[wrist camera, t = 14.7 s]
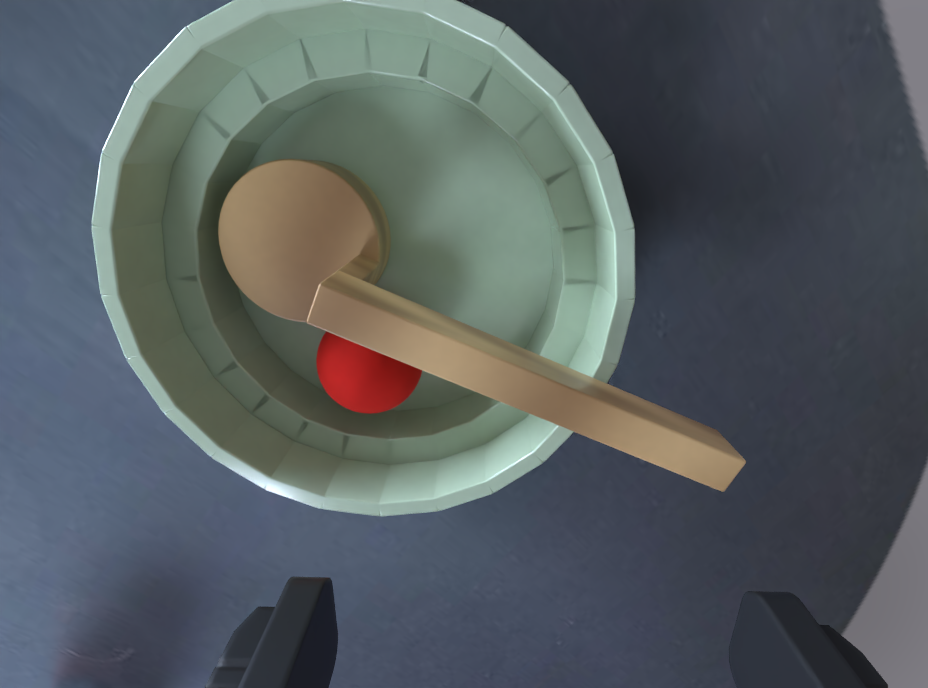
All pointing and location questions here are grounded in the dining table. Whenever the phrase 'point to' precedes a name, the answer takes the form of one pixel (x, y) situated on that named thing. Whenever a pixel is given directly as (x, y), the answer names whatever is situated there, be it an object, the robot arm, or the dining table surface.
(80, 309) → the dining table surface
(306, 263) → the ladle
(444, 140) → the mixing bowl
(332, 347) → the cherry tomato
